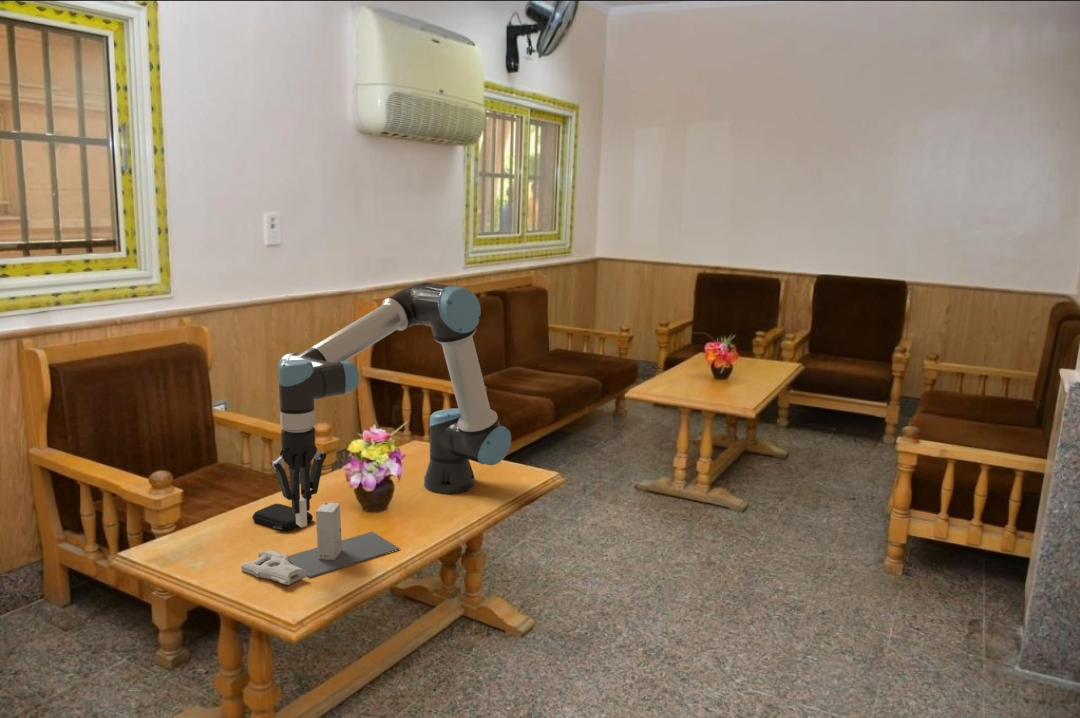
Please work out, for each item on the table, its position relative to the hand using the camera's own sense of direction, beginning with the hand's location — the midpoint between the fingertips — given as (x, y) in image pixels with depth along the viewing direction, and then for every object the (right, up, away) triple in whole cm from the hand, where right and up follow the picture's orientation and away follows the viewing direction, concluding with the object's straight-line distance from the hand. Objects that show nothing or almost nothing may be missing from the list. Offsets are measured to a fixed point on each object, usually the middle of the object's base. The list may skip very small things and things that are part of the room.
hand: (301, 524), depth 196 cm
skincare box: (+5, -9, +7) cm, 12 cm away
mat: (+8, -9, +8) cm, 14 cm away
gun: (-5, -11, -2) cm, 12 cm away
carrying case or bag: (-13, -5, +26) cm, 29 cm away
